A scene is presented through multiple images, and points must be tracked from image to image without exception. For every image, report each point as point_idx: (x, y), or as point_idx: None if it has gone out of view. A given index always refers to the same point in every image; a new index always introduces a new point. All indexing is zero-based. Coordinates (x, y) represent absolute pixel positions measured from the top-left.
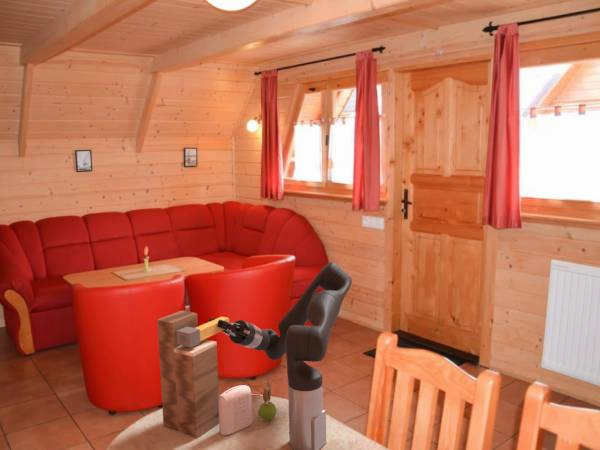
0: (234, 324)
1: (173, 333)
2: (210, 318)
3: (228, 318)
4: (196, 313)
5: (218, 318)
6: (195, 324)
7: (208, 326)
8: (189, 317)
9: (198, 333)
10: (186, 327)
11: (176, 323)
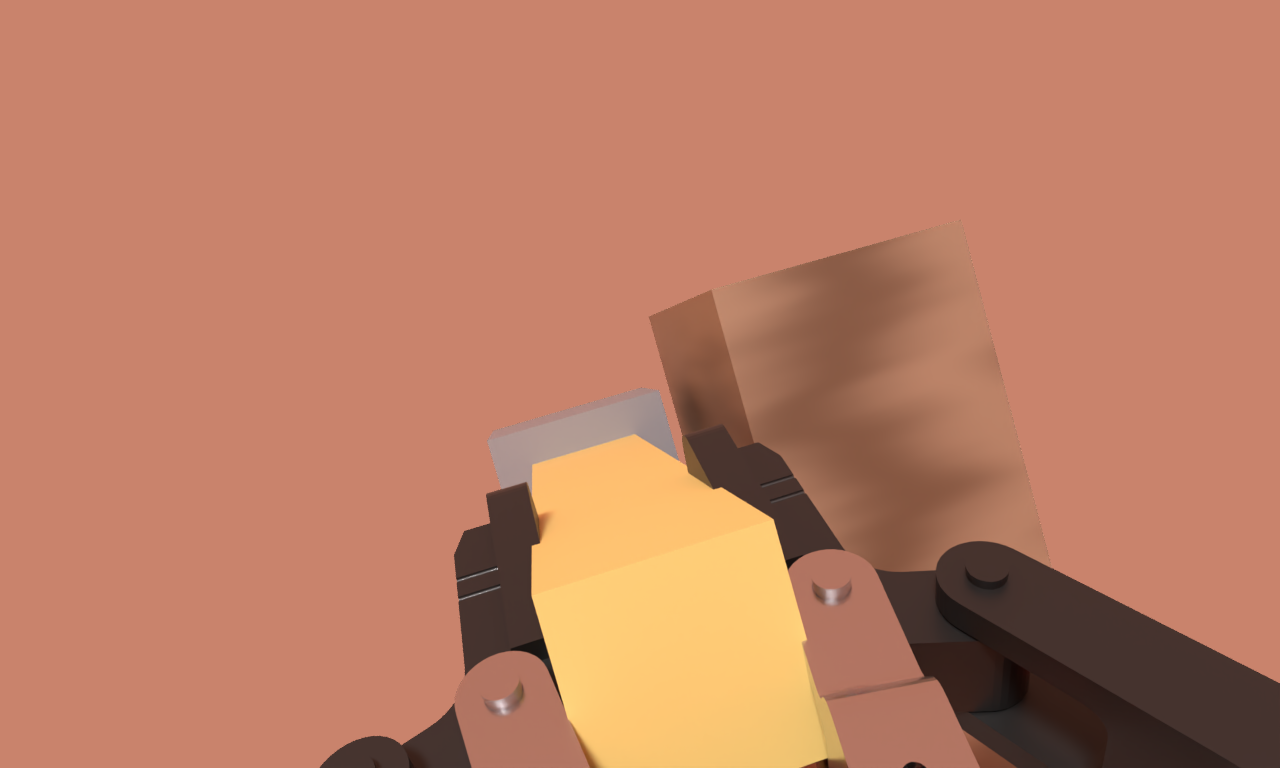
0: (355, 755)
1: (674, 405)
2: (707, 431)
3: (534, 596)
4: (712, 290)
5: (710, 506)
6: (738, 424)
7: (547, 485)
8: (689, 314)
9: (499, 474)
10: (636, 395)
11: (660, 331)
